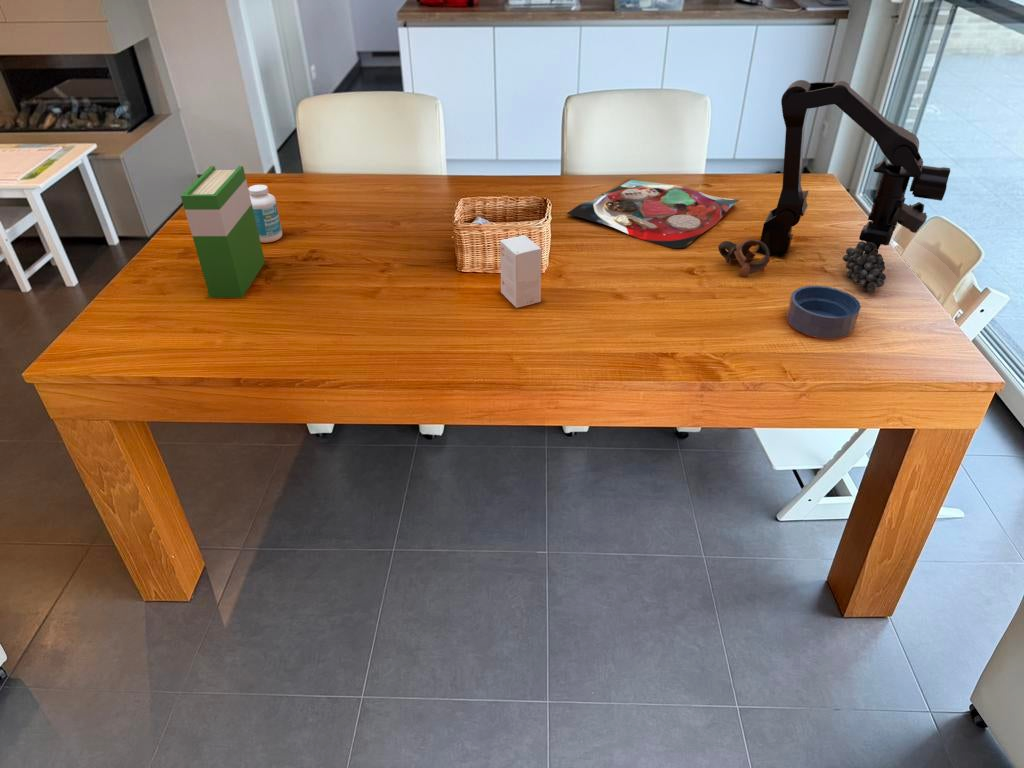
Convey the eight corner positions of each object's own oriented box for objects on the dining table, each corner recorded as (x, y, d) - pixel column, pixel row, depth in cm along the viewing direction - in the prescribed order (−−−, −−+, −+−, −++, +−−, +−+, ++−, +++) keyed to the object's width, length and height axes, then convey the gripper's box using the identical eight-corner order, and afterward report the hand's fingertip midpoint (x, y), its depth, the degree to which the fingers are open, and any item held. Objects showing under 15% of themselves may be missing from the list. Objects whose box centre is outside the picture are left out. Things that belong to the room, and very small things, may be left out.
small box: (541, 302, 163) (542, 248, 156) (515, 308, 161) (515, 254, 153) (525, 286, 169) (525, 234, 161) (500, 292, 167) (499, 239, 159)
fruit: (892, 263, 157) (877, 232, 169) (850, 271, 160) (838, 240, 172) (894, 297, 162) (880, 265, 173) (853, 304, 164) (842, 272, 176)
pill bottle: (272, 245, 188) (261, 194, 180) (247, 241, 190) (235, 191, 182) (288, 233, 194) (278, 184, 186) (264, 230, 196) (253, 180, 188)
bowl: (778, 330, 153) (784, 307, 150) (794, 302, 162) (800, 280, 159) (846, 347, 147) (853, 324, 144) (858, 318, 157) (866, 295, 153)
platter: (630, 179, 222) (631, 173, 221) (739, 207, 205) (740, 200, 204) (565, 216, 200) (565, 210, 199) (681, 251, 183) (682, 244, 182)
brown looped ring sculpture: (763, 261, 179) (777, 242, 172) (754, 292, 175) (767, 273, 168) (717, 244, 180) (728, 224, 173) (706, 274, 177) (718, 255, 169)
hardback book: (235, 262, 181) (210, 166, 167) (265, 262, 181) (243, 166, 166) (209, 297, 166) (180, 195, 152) (242, 297, 166) (216, 195, 152)
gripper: (925, 214, 154) (902, 281, 163) (935, 185, 167) (914, 248, 176) (868, 204, 159) (850, 269, 168) (882, 176, 172) (864, 238, 181)
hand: (871, 256), depth 173 cm, fingers closed
